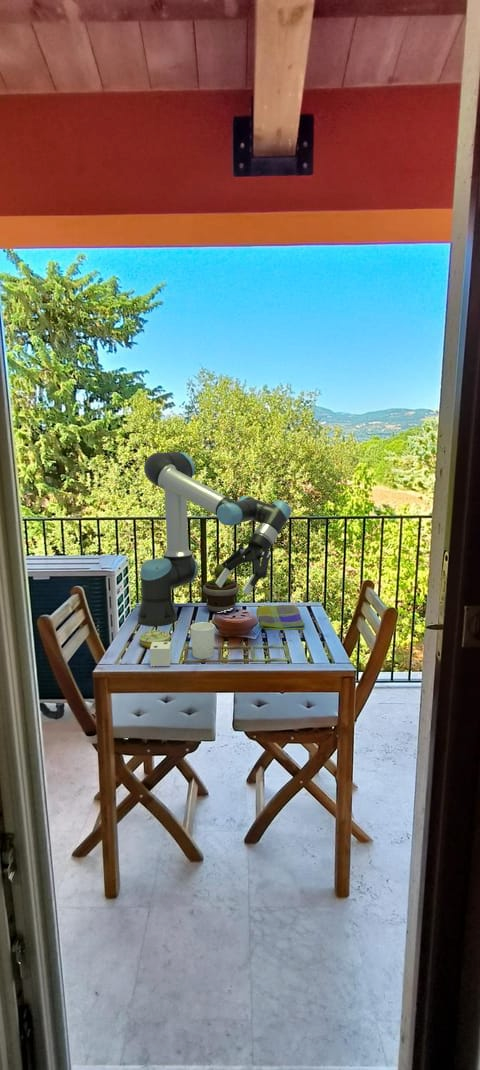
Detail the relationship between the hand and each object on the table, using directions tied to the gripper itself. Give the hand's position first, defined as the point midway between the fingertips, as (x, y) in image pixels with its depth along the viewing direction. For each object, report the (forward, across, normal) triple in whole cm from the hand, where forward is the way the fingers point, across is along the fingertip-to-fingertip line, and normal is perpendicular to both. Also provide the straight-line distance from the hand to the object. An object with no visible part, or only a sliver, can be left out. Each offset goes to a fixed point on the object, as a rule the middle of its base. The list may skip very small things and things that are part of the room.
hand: (231, 589), depth 180 cm
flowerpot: (-2, +33, -30) cm, 45 cm away
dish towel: (-8, +9, -38) cm, 40 cm away
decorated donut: (+27, +20, -2) cm, 34 cm away
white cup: (+23, +1, -6) cm, 24 cm away
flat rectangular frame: (+17, -6, -12) cm, 22 cm away
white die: (+32, +5, +4) cm, 33 cm away
